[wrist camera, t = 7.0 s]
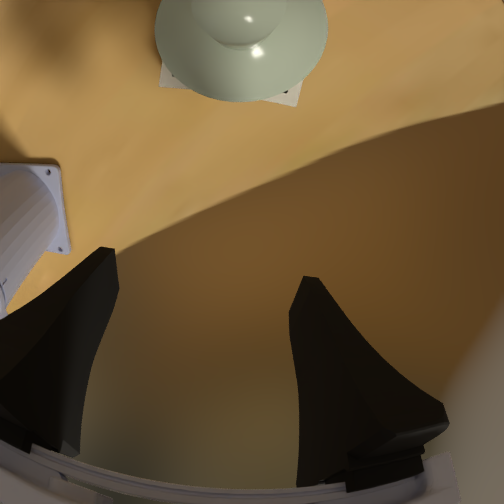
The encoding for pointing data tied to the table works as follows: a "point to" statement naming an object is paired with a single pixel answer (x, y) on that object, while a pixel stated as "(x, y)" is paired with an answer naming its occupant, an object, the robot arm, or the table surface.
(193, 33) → the lid
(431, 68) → the table surface
